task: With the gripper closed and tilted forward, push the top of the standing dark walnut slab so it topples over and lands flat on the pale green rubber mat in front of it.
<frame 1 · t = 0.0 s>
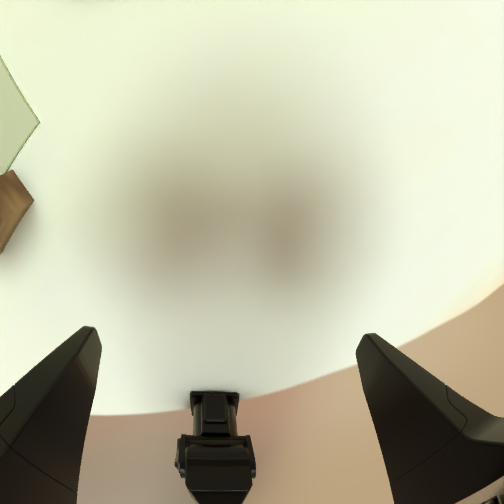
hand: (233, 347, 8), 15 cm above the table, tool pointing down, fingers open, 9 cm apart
slab: (5, 214, 19), on the table
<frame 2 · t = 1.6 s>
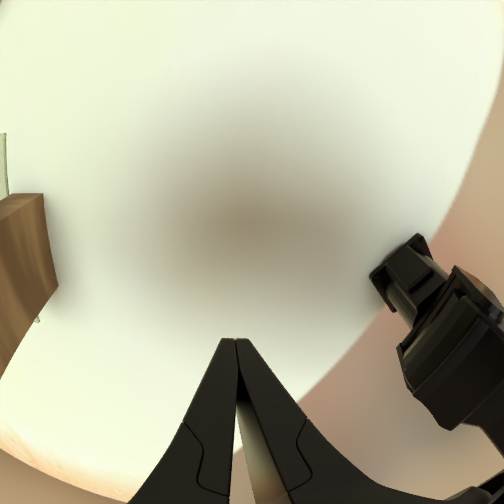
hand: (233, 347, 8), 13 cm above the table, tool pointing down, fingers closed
slab: (33, 241, 19), on the table
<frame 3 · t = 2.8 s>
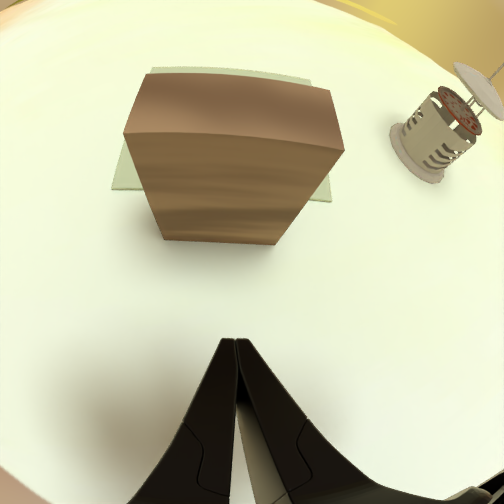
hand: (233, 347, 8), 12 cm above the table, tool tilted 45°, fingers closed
slab: (220, 219, 23), on the table
mat: (227, 118, 26), on the table
french press: (421, 151, 30), on the table
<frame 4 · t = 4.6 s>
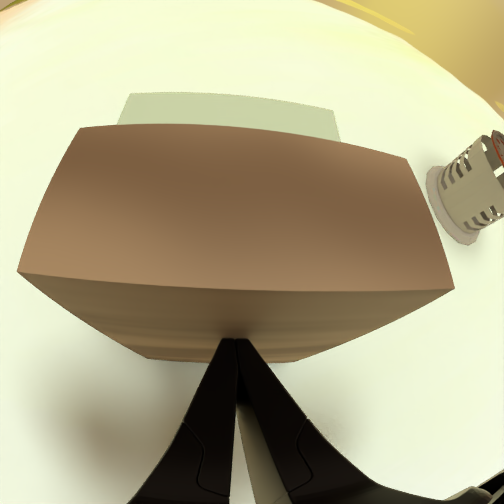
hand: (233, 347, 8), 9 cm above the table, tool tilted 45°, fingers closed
slab: (221, 331, 17), on the table, tilted 10°
mat: (226, 172, 20), on the table
french press: (457, 202, 25), on the table
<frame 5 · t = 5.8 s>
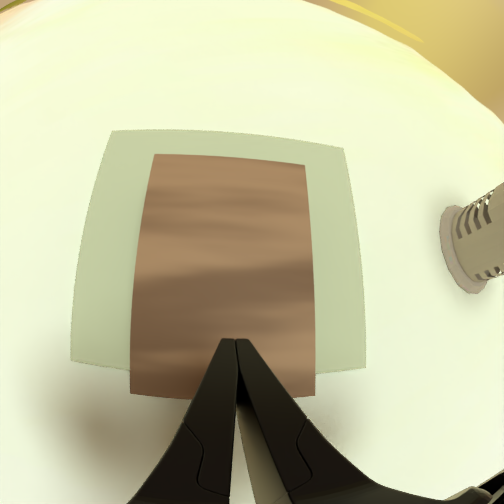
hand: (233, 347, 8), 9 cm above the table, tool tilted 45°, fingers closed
slab: (221, 392, 13), point 2 cm above the table, tilted 90°, touching mat
mat: (222, 237, 18), on the table
french press: (469, 245, 23), on the table
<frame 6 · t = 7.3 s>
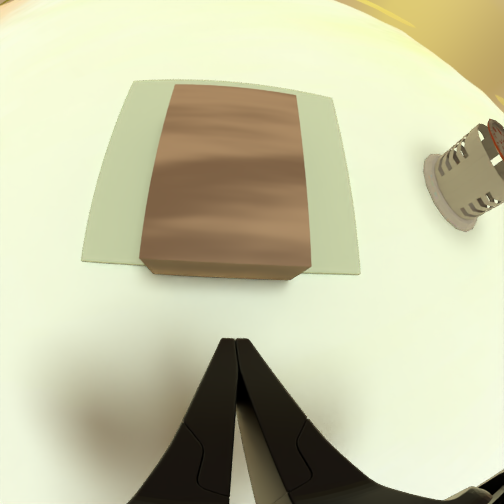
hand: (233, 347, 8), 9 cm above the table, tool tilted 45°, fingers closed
slab: (224, 271, 16), point 2 cm above the table, tilted 90°, touching mat
mat: (228, 155, 21), on the table
french press: (455, 189, 25), on the table
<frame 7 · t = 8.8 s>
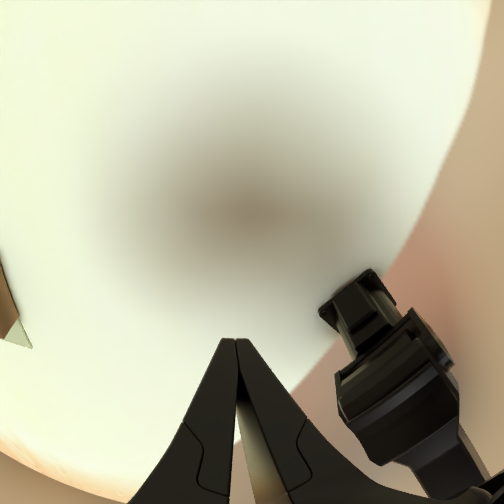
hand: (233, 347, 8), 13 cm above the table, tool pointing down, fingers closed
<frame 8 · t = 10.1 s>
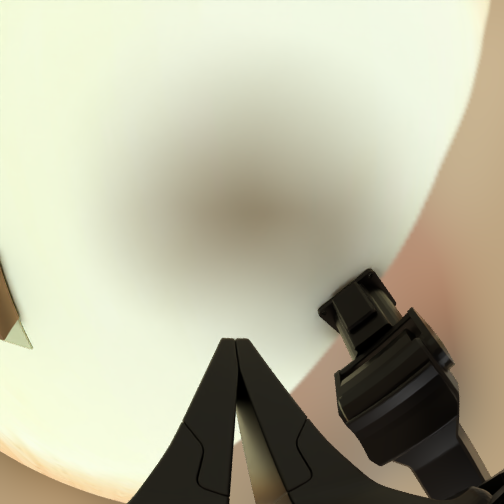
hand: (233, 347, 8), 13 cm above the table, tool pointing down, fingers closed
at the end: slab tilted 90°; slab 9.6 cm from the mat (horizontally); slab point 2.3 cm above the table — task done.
